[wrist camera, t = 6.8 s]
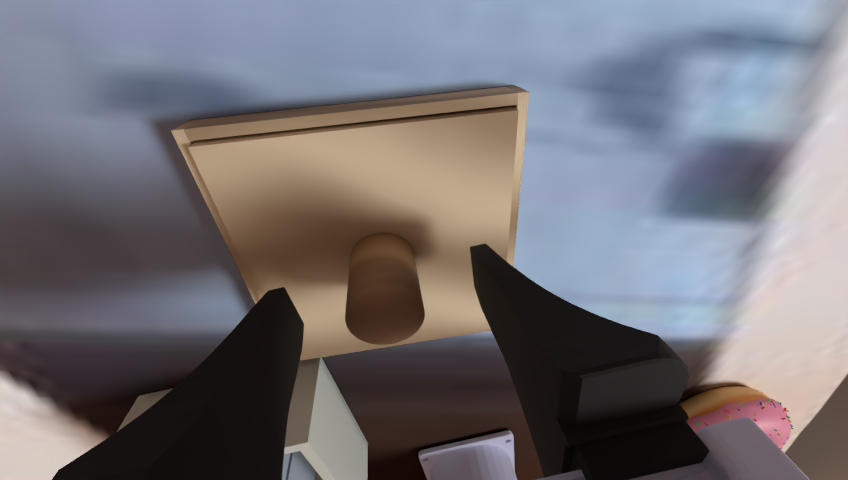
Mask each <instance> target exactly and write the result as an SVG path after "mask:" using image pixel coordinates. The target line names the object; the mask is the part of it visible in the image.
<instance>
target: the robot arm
mask: <svg viewBox="0 0 848 480" xmlns="http://www.w3.org/2000/svg"><path fill="white" fill-rule="evenodd" d="M470 253H471V262H472V271H473V281H474V288H475V291H476V294H477V297H478V300H479V303H480V306H481V309H482V311H483V313H484V316H485V318H486V320H487V322H488V324H489V326H490V328H491V331H492V333H493V335H494V337H495V339H496V341H497V343H498V345H499V348H500V350H501V352H502V354H503V356H504V359H505V361H506V363H507V366H508V368H509V371H510V374H511V377H512V380H513V382H514V385H515V388H516V391H517V394H518V397H519V400H520V403H521V406H522V409H523V412H524V414H525V417H526V420H527V424H528V427H529V430H530V433H531V436H532V439H533V442H534V445H535V448H536V451H537V454H538V458H539V461H540V464H541V467H542V470H543V474H544V477H545V478H541V479H537V480H810V479H809V478H808V477H807V476H806V475H805V474H804V473H803V472H802V471H801V470H800V469H799V468H798V467H797V466H796V465H795V464H794V463H793V462H792V461H791V460H790V459H789V458H788V457H787V455H786V454H785V453H784V452H783V451H782V450H781V449H780V448H779V447H778V446H777V445H776V444H775V443H774V442H773V441H772V440H771V439H770V438H769V437H768V436H767V435H766V434H765V433H764V432H763V430H762V429H761V428H760V427H759V426H758V425H757V424H756V423H755V422H754V421H753V420H752V419H751V418H748V417H743V418H739V419H734V420H730V421H725V422H721V423H717V424H712V425H709V426H706V427H703V428H701V429H700V430H698V431H697V432H696V433H695V432H694V431H693V430H692V428H691V427H690V426H689V425H688V423H687V422H686V420H688V418H689V417H688V414H687V413H686V412H685V410H684V409H683V408H682V407H681V405H680V404H679V403H678V402H679V400H680V398H681V396H682V394H683V392H684V389H685V387H686V385H687V382H688V378H689V369H688V366H687V365H686V364H685V363H684V362H683V361H682V360H681V359H680V358H679V357H678V355H677V354H676V353H675V352H674V351H673V350H672V349H671V348H670V347H669V346H668V345H667V344H666V343H665V342H664V341H663V340H662V339H661V338H660V337H659V336H658V335H654V334H651V333H648V332H645V331H641V330H638V329H635V328H632V327H628V326H625V325H622V324H619V323H616V322H614V321H611V320H608V319H606V318H603V317H600V316H598V315H596V314H593V313H591V312H588V311H586V310H584V309H582V308H580V307H578V306H575V305H573V304H571V303H569V302H567V301H565V300H563V299H561V298H559V297H558V296H556V295H554V294H552V293H551V292H549V291H547V290H545V289H544V288H542V287H541V286H539V285H538V284H536V283H535V282H533V281H532V280H530V279H529V278H527V277H526V276H525V275H523V274H522V273H521V272H519V271H518V270H517V269H515V268H514V267H513V266H512V265H510V264H509V263H508V262H507V261H505V260H504V259H503V258H502V257H501V256H500V255H498V254H497V253H496V252H495V251H494V250H493V249H492V248H491V247H489V246H488V245H487V244H480V245H476V246H471V247H470ZM303 334H304V323H303V321H302V319H301V317H300V315H299V313H298V311H297V310H296V308H295V306H294V304H293V302H292V300H291V298H290V296H289V295H288V293H287V291H286V289H285V287H281V288H277V289H272V290H268V291H267V292H266V293H265V294H264V296H263V297H262V298H261V299H260V300H259V301H258V302H257V303H256V305H255V306H254V307H253V308H252V309H251V310H250V311H249V313H248V314H247V315H246V316H245V317H244V318H243V320H242V321H241V322H240V323H239V324H238V325H237V326H236V328H235V329H234V330H233V331H232V332H231V333H230V334H229V335H228V336H227V337H226V338H225V340H224V341H223V342H222V343H221V344H220V345H219V346H218V347H217V348H216V349H215V350H214V351H213V352H212V353H211V354H210V355H209V356H208V357H207V358H206V359H205V360H204V361H203V362H202V363H201V364H200V365H199V366H198V367H197V368H196V369H195V370H194V371H193V372H192V373H190V374H189V375H188V376H187V377H186V378H185V379H184V380H183V381H182V382H180V383H179V384H178V385H177V386H176V387H174V388H173V389H172V390H171V391H170V392H168V393H167V394H166V395H165V396H163V397H162V398H161V399H160V400H159V401H157V402H156V403H155V404H154V405H152V406H151V407H150V408H149V409H147V410H146V411H145V412H143V413H142V414H141V415H139V416H138V417H137V418H135V419H134V420H133V421H131V422H130V423H129V424H127V425H126V426H124V427H123V428H122V429H120V430H119V431H117V432H116V433H115V434H113V435H112V436H110V437H109V438H107V439H106V440H104V441H103V442H101V443H100V444H98V445H97V446H95V447H94V448H92V449H91V450H89V451H88V452H86V453H84V454H83V455H81V456H80V457H78V458H77V459H75V460H74V461H72V462H71V463H69V464H67V465H66V466H64V467H63V468H61V469H59V470H58V472H57V473H56V475H55V476H54V477H53V479H52V480H282V472H283V460H284V448H285V438H286V429H287V420H288V414H289V408H290V403H291V398H292V394H293V389H294V385H295V380H296V376H297V371H298V367H299V362H300V357H301V352H302V346H303ZM418 455H419V460H420V462H421V465H422V468H423V470H424V473H425V475H426V478H427V480H517V478H516V475H515V468H514V437H513V434H512V432H511V431H503V432H498V433H494V434H490V435H485V436H481V437H476V438H472V439H468V440H463V441H459V442H454V443H450V444H446V445H441V446H437V447H432V448H428V449H424V450H421V451H420V452H419V453H418Z"/></svg>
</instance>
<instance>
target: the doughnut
mask: <svg viewBox="0 0 848 480" xmlns="http://www.w3.org/2000/svg"><path fill="white" fill-rule="evenodd" d="M679 404H680V405H681V407H682V408H683V409H684V410H685V412H686V413H687V414H688V417H689V418H688V420H686V422H687V423H688V425H689V426H690V427H691V428H692V430H693V431H694V432H695V433H696V432H697V431H698V430H700V429H701V428H703V427H706V426H709V425H712V424H717V423H721V422H725V421H730V420H734V419H739V418H743V417H748V418H751V419H752V420H753V421H754V422H755V423H756V424H757V425H758V426H759V427H760V428H761V429H762V430H763V432H764V433H765V434H766V435H767V436H768V437H769V438H770V439H771V440H772V441H773V442H774V443H775V444H776V445H777V446H778V447H779V448H780V449H782V446H783V445H784V444H785V443H786V441H787V440H788V438H789V436H790V432H791V429H793V428H792V427H793V426H792V425H791V424H790V423H791V421H790V420H789V418H790V417H789V416H787V413H786V412H788V410H786V408H783V407H782V406H781V403H779V402H776V401H775V400H773V399H770V398H769V397H768V396H767V395H765V394H764V393H762V392H760V391H758V390H755V389H752V388H747V387H740V386H730V387H722V388H716V389H712V390H709V391H706V392H703V393H700V394H697V395H695V396H693V397H691V398H689V399H687V400H685V401H683V402H681V403H679Z"/></svg>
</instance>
